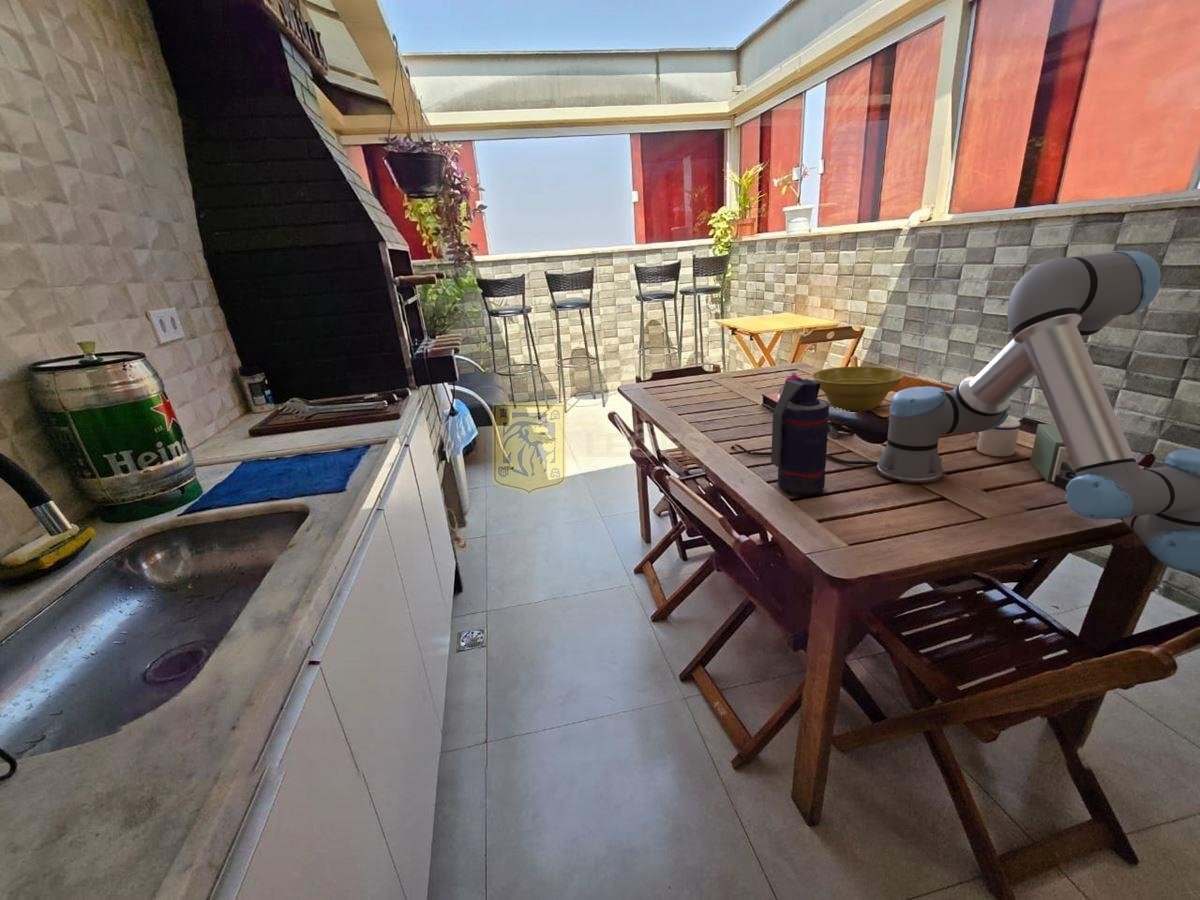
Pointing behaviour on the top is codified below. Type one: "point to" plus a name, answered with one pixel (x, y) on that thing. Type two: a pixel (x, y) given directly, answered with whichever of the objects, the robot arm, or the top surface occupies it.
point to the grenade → (800, 437)
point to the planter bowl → (857, 386)
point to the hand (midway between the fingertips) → (1102, 470)
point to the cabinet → (1046, 449)
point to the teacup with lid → (999, 439)
